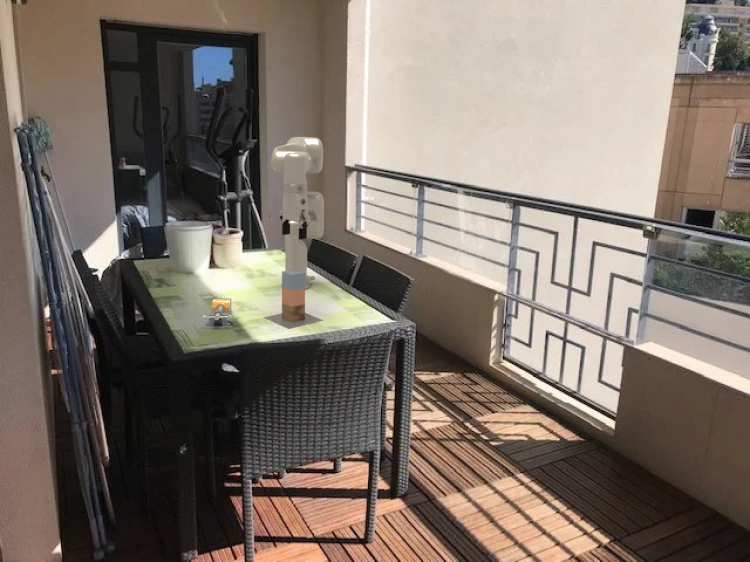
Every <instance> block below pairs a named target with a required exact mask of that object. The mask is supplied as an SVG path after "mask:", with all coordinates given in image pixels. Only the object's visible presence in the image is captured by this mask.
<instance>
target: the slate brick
mask: <svg viewBox="0 0 750 562" xmlns="http://www.w3.org/2000/svg"><path fill="white" fill-rule="evenodd" d="M282 288H285V289H288V290H290V291H295V290H300V289H305V272H302V271H299V270H296V269H294V270H288V271H285V270H284V271H281V289H282ZM305 290H306V289H305Z"/></svg>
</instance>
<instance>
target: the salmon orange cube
mask: <svg viewBox="0 0 750 562" xmlns="http://www.w3.org/2000/svg"><path fill="white" fill-rule="evenodd" d="M282 303H283V304H286V305H288V306H291V307H294V306H298V305H303V304H305V305H306V289H300V290H295V291H290V290H288V289H285V288H282V287H281V304H282Z"/></svg>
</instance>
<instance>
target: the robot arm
mask: <svg viewBox="0 0 750 562" xmlns="http://www.w3.org/2000/svg"><path fill="white" fill-rule="evenodd" d="M272 150H273V151H272V154H271V167H272V169H273V170H274V171H275V172H278V173H283V197H282V205H281V206H282V207H281V208H280V209H279V210H278V214H279V218H280V222H281V235H283V236H284V243H285V245H284V246H285V248H284V249H285V253H284V254H285V257H284V258H285V259H284V260H285V264H284V265H285V267H284V269H285V270H284V271H288V270H294V269H296V270H299V271H302V272H305V290H307V289H309V288H310V287H311V283H310V282H311V281H314V280H315V279H316V276H315V275H308V247H307V245H306V243H305V242H304V241H303V240H306V239H312V240H313V239H321V238H322V237H323V236H324V231H325V199H324V195H323V194H322V193H321V192H318V191H308V180H307V178H306V176H307V174H319V173H321V171H322V170H323V165H324V146H323V142H322V140H321V139H320V138H318V137H315V136H314V137H311V136H310V137H309V136H294V137H291V138H289V140H287V141H286V144H283V145H277V146H276V147H275V148H274V149H272ZM310 215H312V216H310Z"/></svg>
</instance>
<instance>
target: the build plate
mask: <svg viewBox="0 0 750 562" xmlns="http://www.w3.org/2000/svg"><path fill="white" fill-rule="evenodd" d="M263 319H265V320H268V321H270V322H272V323H275V324H277V326H281V327H284V328H286V329H288V330H291V329H295V328H299V327H305V326H307V325H311V324H315V323H318V322H319V323H320V322H323V321H324V319H321V318H319V317H317V316H315V315H312V314H308V313H307V312H305V319H304V320H300V321H296V322H289V321H287V320H285V319H282V312H281V313H278V314H272V315H267V316H264V317H263Z"/></svg>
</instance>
